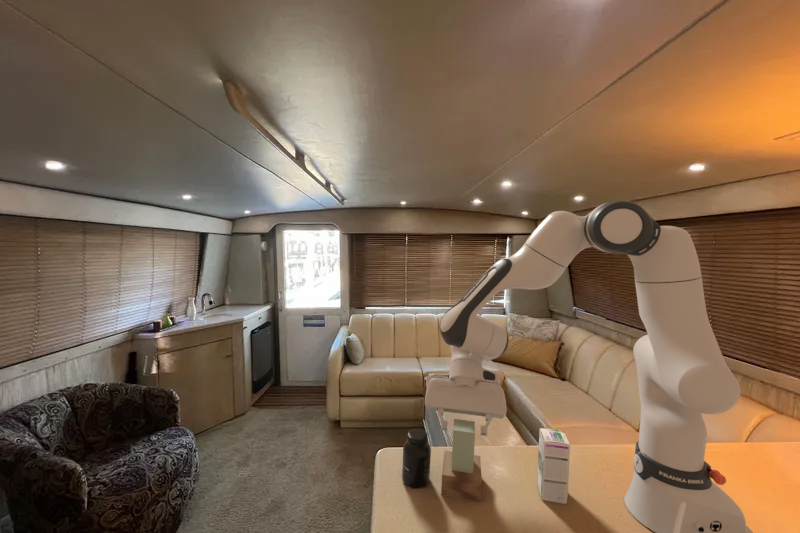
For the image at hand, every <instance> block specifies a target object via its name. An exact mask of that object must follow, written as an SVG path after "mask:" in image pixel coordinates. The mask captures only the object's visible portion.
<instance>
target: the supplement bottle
mask: <svg viewBox="0 0 800 533" xmlns="http://www.w3.org/2000/svg"><path fill="white" fill-rule="evenodd" d="M402 448H403V449H402V469H401V471H402V472H401V473H402V474H401V478H402V481H403V483H404V485H406V486H407V487H408V488H411V489H414V490H419V489H422V488H425V487H426V486H428V484H429V482H430V476H431V459H432V458H431V456H432V448H431V445H430V443H429V442H428V432H427V431H426V430H425V429H422V428H412V429H410V430H409V431H408V432H407V439H406V441H405V442H404V444H403V447H402Z"/></svg>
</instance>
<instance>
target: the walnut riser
mask: <svg viewBox="0 0 800 533" xmlns="http://www.w3.org/2000/svg"><path fill="white" fill-rule="evenodd" d="M442 460H443V463H442V472H441V473H442V474H441V487H440V488H441V489H440V495H441V496H445V497H451V498H457V499H462V500H466V501H467V500H469V501H474V502H479V503H481V502H482V486H483V485H482V484H483V478H482V476H483V475H482V461H481V456H480V455H477V454H476V455H475V454H474V464H473V474H471V473H465V472H459V471H453V470H451V468H452V451H448V450H444V452H443V459H442Z"/></svg>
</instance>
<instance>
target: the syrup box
mask: <svg viewBox="0 0 800 533" xmlns="http://www.w3.org/2000/svg"><path fill="white" fill-rule="evenodd" d="M538 435H539V437H538V438H539V439H538V452H537V453H538V455H537V456H538V458H537V472H536V473H537V474H536V485H537V488H538V492H539V496H540V499H541V500H542V501H545V502H550V503H551V502H552V503H555V504H563V505H567V504H568V494H569V491H568V490H569V478H570V454H571V444H570V441H569V440H568V438H567V436H566V434H565V431H564V430H560V429H554V428H543V427H541V428H540V427H539V434H538Z"/></svg>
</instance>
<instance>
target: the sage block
mask: <svg viewBox="0 0 800 533" xmlns="http://www.w3.org/2000/svg"><path fill="white" fill-rule="evenodd" d="M475 425H476V424H475V421H473V420H465V419H458V418H454V419H453V429H452V446H451V447H452V449H451V450H452V451H451V452H452V468H451V470H453V471H459V472H465V473H471V474H473V464H474V455H475V443H476V442H475V441H476V440H475V439H476V426H475Z"/></svg>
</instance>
